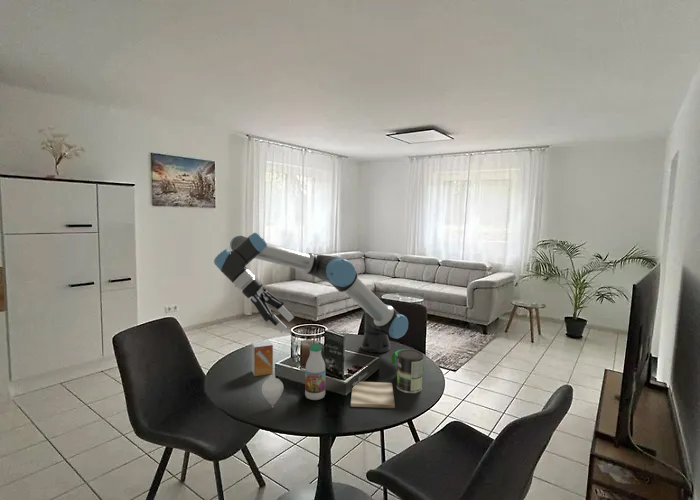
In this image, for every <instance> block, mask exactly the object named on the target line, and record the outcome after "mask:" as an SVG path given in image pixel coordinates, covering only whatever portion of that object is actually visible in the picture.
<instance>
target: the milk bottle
mask: <svg viewBox="0 0 700 500" xmlns="http://www.w3.org/2000/svg"><path fill="white" fill-rule="evenodd" d="M322 349H323V348H322V344H320V343H312V344H310V345H309V356H308V358H307V360H306V363H305V370H304V371H305V374H304V375H305V376H304V385H305V386H304V389H305V390H304V395H305V398H306V399H309V400H312V401H318V400H321V399H323V398H325V395H326V364H325V360H324V358H323V355H322Z"/></svg>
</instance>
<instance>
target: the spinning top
mask: <svg viewBox="0 0 700 500" xmlns="http://www.w3.org/2000/svg"><path fill="white" fill-rule="evenodd" d="M283 391H284V384H283V382H282V380H281V379H279V378H277V377H276V375H275V374H269V378H267V379H266V380H265V381H264V382H263V384H262V385H261V393H262V395H263V397H264V399H266V401H267V403H269V404H270V405H271V408H274V405H275V404H277V402H278V400H279V399H280V398H281V396H282V394H283Z"/></svg>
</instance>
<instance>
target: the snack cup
mask: <svg viewBox="0 0 700 500" xmlns="http://www.w3.org/2000/svg"><path fill="white" fill-rule="evenodd" d="M401 350H410V349H409V348H407V349H399V350H396V351H395V352H393V353H392V354H391V360H390V361H391V364H392V365H394V364H396V366H397V365H398V352H399V351H401ZM424 369H425V368H424V366H423V368H422V373H423V372H424Z"/></svg>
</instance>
